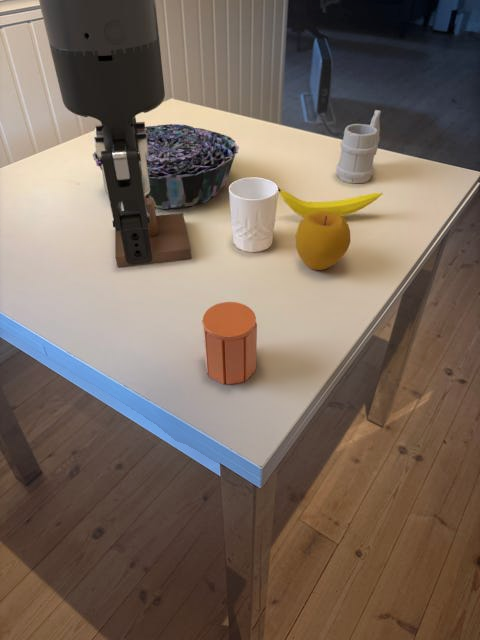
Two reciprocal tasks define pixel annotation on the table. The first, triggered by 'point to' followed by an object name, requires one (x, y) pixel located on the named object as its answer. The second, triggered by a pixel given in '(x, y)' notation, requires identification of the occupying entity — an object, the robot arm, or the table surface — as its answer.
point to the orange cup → (230, 342)
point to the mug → (359, 151)
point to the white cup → (253, 213)
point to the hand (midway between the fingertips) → (138, 235)
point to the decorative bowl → (186, 164)
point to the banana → (328, 204)
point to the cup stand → (160, 238)
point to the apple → (322, 239)
